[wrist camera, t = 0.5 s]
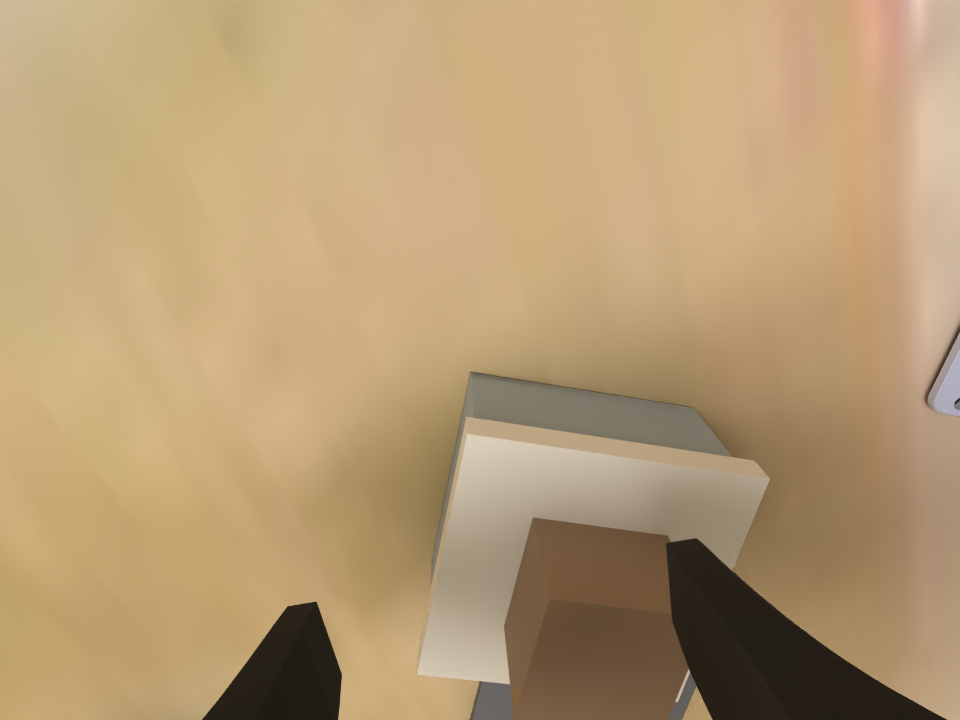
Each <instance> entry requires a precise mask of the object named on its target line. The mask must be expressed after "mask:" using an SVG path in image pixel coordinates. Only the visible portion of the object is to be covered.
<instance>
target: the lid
mask: <svg viewBox="0 0 960 720" xmlns="http://www.w3.org/2000/svg"><path fill="white" fill-rule="evenodd" d="M769 481H770V478H769V477H768V476H767V475H766V474H765V472H764V471H763V470H762V469H761V468H760V466H759V465H758V464H757V463H756V462H755V461H754V460H747V459H741V458H734V457H728V456H721V455H715V454H708V453H702V452H695V451H688V450H682V449H675V448H669V447H662V446H656V445H649V444H642V443H636V442H629V441H623V440H616V439H610V438H603V437H597V436H590V435H583V434H577V433H570V432H564V431H557V430H551V429H544V428H538V427H531V426H524V425H518V424H511V423H505V422H498V421H492V420H485V419H478V418H472V417H466V421H465V426H464V430H463V435H462V440H461V445H460V450H459V455H458V459H457V464H456V469H455V474H454V479H453V484H452V488H451V493H450V498H449V503H448V508H447V513H446V517H445V522H444V527H443V532H442V537H441V542H440V546H439V551H438V556H437V561H436V566H435V571H434V576H433V580H432V585H431V590H430V595H429V600H428V605H427V609H426V614H425V619H424V624H423V629H422V634H421V638H420V643H419V648H418V663H417V674H418V675H427V676H436V677H446V678H455V679H465V680H474V681H484V682H493V683H502V684H510V689H511V699H512V708H513V718H514V720H668V718H669V715H670V713H671V710H672V708H673V706H674V703H675V702H678V700H679V698H680V696H681V693H682V691H683V688H684V686H685V683H686V681H687V679H688V676H689V674H690V671H689V668H688V665H687V662H686V660H685V657H684V654H683V651H682V648H681V645H680V643H679V640H678V637H677V634H676V631H675V628H674V625H673V622H672V614H671V601H670V589H669V576H668V564H667V551H666V543H669V542H675V541H681V540H687V539H693V538H697V539H698V540H699V541H701V542H702V543H703V544H704V545H705V546H706V547H707V548H708V549H709V550H710V551H711V552H713V553H714V554H715V555H716V556H717V557H718V558H719V559H720V560H721V561H722V562H723V563H724V564H725V565H726V566H727V567H728V568H730V569H731V570H733V568H734V565H735V563H736V561H737V558H738V556H739V553H740V551H741V548H742V546H743V544H744V541H745V539H746V536H747V534H748V532H749V529H750V527H751V524H752V522H753V520H754V517H755V515H756V512H757V510H758V507H759V505H760V503H761V500H762V498H763V495H764V493H765V491H766V488H767V486H768V483H769Z"/></svg>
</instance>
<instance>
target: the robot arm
mask: <svg viewBox="0 0 960 720" xmlns="http://www.w3.org/2000/svg"><path fill="white" fill-rule="evenodd" d="M959 398H960V333H959V335H958V337H957V339H956V341H955V343H954V345H953V347H952V349H951V351H950V353H949V355H948V357H947V359H946V361H945V363H944V365H943V367H942V369H941V371H940V373H939V375H938V377H937V379H936V381H935V383H934V385H933V388H932V390H931V392H930V394H929V396H928V405H929V406H930V407H931V408H932V409H933V410H935V411H937V412H939V413H941V414H947V415H953V416H959V417H960V401H959V402H958V403H957V404H955V402H956V400H957V399H959ZM954 404H955V405H954ZM666 551H667V564H668V576H669V589H670V601H671V614H672V622H673V625H674V628H675V631H676V634H677V637H678V640H679V643H680V645H681V648H682V651H683V654H684V657H685V660H686V662H687V665H688V668H689V671H690V673H691V675H692V677H693V679H694V681H695V684H696V686H697V688H698V690H699V692H700V694H701V696H702V698H703V700H704V703H705V705H706V707H707V709H708V711H709V713H710V715H711V717H712V719H713V720H947V719H945V718H943V717H941V716H939V715H937V714H935V713H933V712H932V711H930V710H928V709H926V708H924V707H923V706H921V705H919V704H917V703H915V702H914V701H912V700H910V699H908V698H906V697H905V696H903V695H901V694H899V693H897V692H896V691H894V690H892V689H890V688H889V687H887V686H885V685H884V684H882V683H880V682H879V681H877V680H875V679H874V678H872V677H870V676H869V675H867V674H866V673H864V672H863V671H861V670H859V669H858V668H856V667H855V666H853V665H852V664H850V663H849V662H847V661H846V660H844V659H843V658H841V657H840V656H838V655H837V654H835V653H834V652H833V651H831V650H830V649H828V648H827V647H826V646H824V645H823V644H821V643H820V642H819V641H817V640H816V639H814V638H813V637H812V636H810V635H809V634H808V633H806V632H805V631H804V630H802V629H801V628H800V627H798V626H797V625H796V624H795V623H793V622H792V621H791V620H789V619H788V618H787V617H786V616H784V615H783V614H782V613H781V612H779V611H778V610H777V609H776V608H775V607H773V606H772V605H771V604H770V603H769V602H767V601H766V600H765V599H764V598H763V597H761V596H760V595H759V594H758V593H757V592H755V591H754V590H753V589H752V588H751V587H750V586H749V585H747V584H746V583H745V582H744V581H743V580H742V579H741V578H740V577H738V576H737V575H736V574H735V573H734V572H733V571H732V570H731V569H730V568H728V567H727V566H726V565H725V564H724V563H723V562H722V561H721V560H720V559H719V558H718V557H717V556H716V555H715V554H714V553H713V552H711V551H710V550H709V549H708V548H707V547H706V546H705V545H704V544H703V543H702V542H701V541H699V540H698V539H697V538H693V539H687V540H681V541H675V542H669V543H666ZM341 680H342V674H341V671H340V668H339V665H338V662H337V659H336V656H335V654H334V651H333V648H332V645H331V642H330V639H329V636H328V633H327V631H326V628H325V625H324V622H323V619H322V616H321V613H320V610H319V608H318V605H317V602H311V603H305V604H299V605H293V606H288V607H287V608H286V609H285V611H284V612H283V613H282V615H281V616H280V617H279V619H278V620H277V621H276V623H275V624H274V625H273V627H272V628H271V629H270V631H269V632H268V634H267V635H266V636H265V638H264V639H263V641H262V642H261V643H260V645H259V646H258V647H257V649H256V650H255V652H254V653H253V654H252V656H251V657H250V658H249V660H248V661H247V663H246V664H245V665H244V667H243V668H242V669H241V671H240V672H239V673H238V675H237V676H236V677H235V679H234V680H233V681H232V683H231V684H230V685H229V687H228V688H227V689H226V691H225V692H224V693H223V694H222V696H221V697H220V698H219V700H218V701H217V702H216V703H215V705H214V706H213V707H212V708H211V709H210V711H209V712H208V713H207V714H206V716H205V717H204V718H203V719H202V720H338V715H339V705H340V692H341Z"/></svg>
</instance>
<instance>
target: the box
mask: <svg viewBox="0 0 960 720" xmlns="http://www.w3.org/2000/svg"><path fill="white" fill-rule="evenodd" d="M466 417H472V418H478V419H485V420H492V421H498V422H505V423H511V424H518V425H524V426H531V427H538V428H544V429H551V430H557V431H564V432H570V433H577V434H583V435H590V436H597V437H603V438H610V439H616V440H623V441H629V442H636V443H642V444H649V445H656V446H662V447H669V448H675V449H682V450H688V451H695V452H702V453H708V454H715V455H721V456H728V457H732V455H731V454H730V453H729V451H728V450H727V449H726V448H725V446H724V445H723V444H722V443H721V441H720V440H719V439H718V438H717V436H716V435H715V434H714V433H713V431H712V430H711V429H710V428H709V426H708V425H707V424H706V423H705V421H704V420H703V419H702V418H701V416H700V415H699V414H698V413H697V411H696V410H695V409H694V408H692V407H686V406H679V405H673V404H667V403H661V402H655V401H648V400H642V399H636V398H630V397H623V396H617V395H611V394H605V393H598V392H592V391H586V390H580V389H574V388H567V387H561V386H555V385H549V384H542V383H536V382H530V381H524V380H517V379H511V378H505V377H499V376H493V375H486V374H480V373H474V372H470V376H469V381H468V386H467V391H466V396H465V401H464V406H463V411H462V416H461V421H460V426H459V430H458V435H457V440H456V445H455V450H454V455H453V460H452V465H451V470H450V475H449V480H448V485H447V489H446V494H445V499H444V504H443V509H442V514H441V519H440V524H439V529H438V534H437V539H436V543H435V548H434V553H433V558H432V570H431V585H432V580H433V576H434V571H435V566H436V561H437V556H438V551H439V546H440V542H441V537H442V532H443V527H444V522H445V517H446V513H447V508H448V503H449V498H450V493H451V488H452V484H453V479H454V474H455V469H456V464H457V459H458V455H459V450H460V445H461V440H462V435H463V430H464V426H465V421H466Z"/></svg>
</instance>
